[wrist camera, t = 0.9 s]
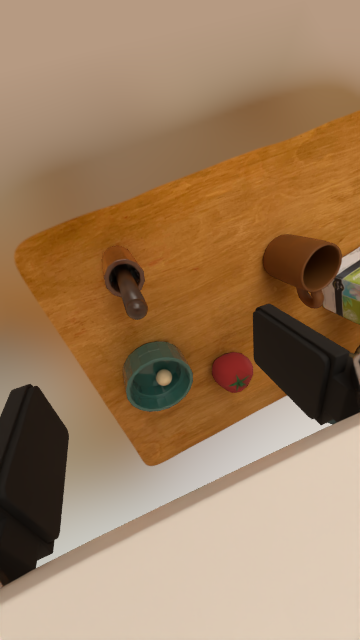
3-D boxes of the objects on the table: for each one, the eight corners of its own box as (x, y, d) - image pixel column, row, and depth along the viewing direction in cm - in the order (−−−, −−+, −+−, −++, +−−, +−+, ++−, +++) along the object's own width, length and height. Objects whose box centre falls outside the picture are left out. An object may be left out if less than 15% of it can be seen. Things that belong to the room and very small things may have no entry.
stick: (112, 269, 34) (129, 325, 19) (110, 256, 33) (125, 305, 18) (125, 267, 34) (151, 320, 19) (123, 254, 33) (148, 300, 18)
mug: (300, 284, 47) (342, 302, 39) (268, 301, 47) (304, 323, 39) (294, 225, 41) (343, 232, 33) (257, 245, 40) (298, 256, 32)
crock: (105, 278, 35) (109, 300, 27) (98, 247, 32) (100, 262, 25) (135, 273, 36) (146, 293, 28) (130, 243, 34) (141, 257, 26)
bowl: (128, 397, 46) (132, 419, 41) (117, 348, 40) (120, 368, 36) (184, 381, 49) (193, 400, 44) (181, 333, 43) (191, 350, 39)
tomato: (227, 380, 53) (245, 404, 47) (200, 371, 49) (215, 396, 43) (247, 352, 51) (268, 372, 45) (221, 340, 47) (240, 362, 41)
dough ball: (155, 380, 46) (159, 391, 43) (153, 368, 44) (157, 378, 42) (170, 376, 46) (174, 386, 44) (168, 364, 45) (173, 374, 42)
